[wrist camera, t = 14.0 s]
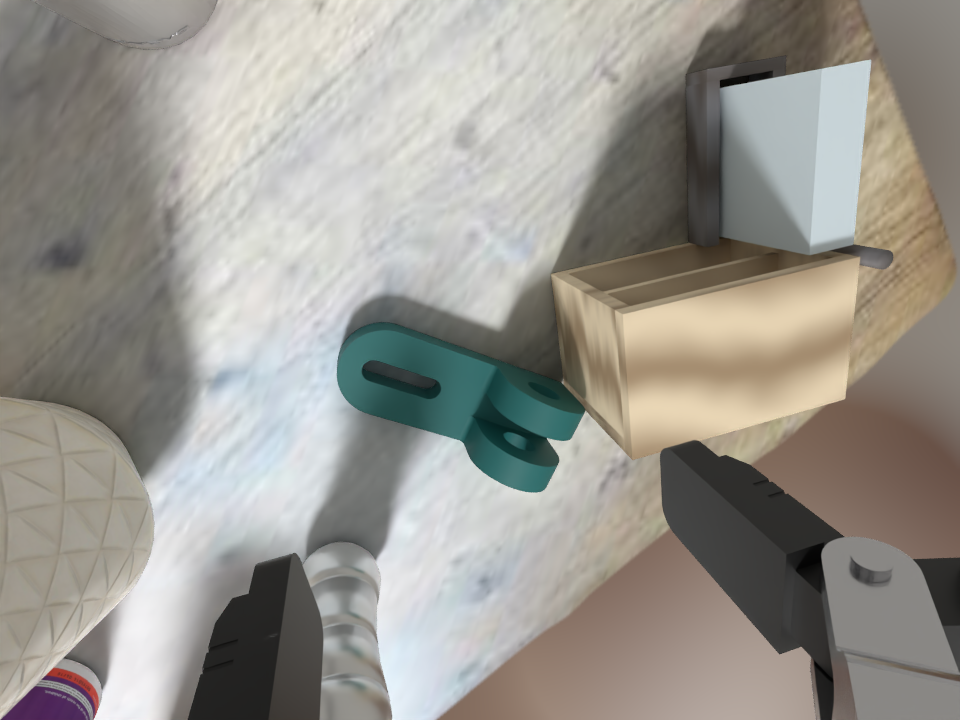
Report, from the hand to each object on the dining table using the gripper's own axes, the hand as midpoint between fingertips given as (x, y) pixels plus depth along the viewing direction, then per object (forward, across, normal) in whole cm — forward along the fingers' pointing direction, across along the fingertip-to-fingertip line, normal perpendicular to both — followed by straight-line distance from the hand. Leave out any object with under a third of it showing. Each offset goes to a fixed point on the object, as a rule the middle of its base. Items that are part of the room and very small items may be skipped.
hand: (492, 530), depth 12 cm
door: (+30, -27, -3) cm, 41 cm away
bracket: (+30, -2, +10) cm, 32 cm away
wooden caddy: (+30, -21, +2) cm, 37 cm away
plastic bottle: (+30, +10, +24) cm, 40 cm away
